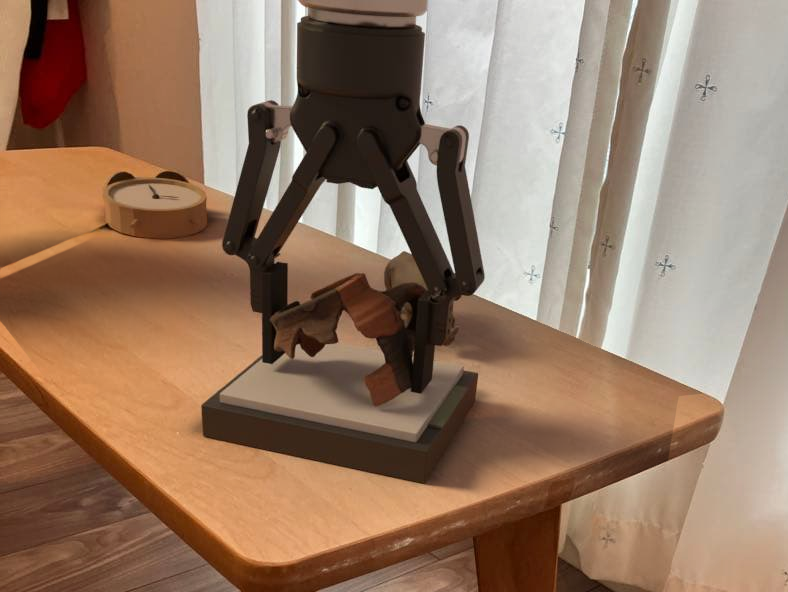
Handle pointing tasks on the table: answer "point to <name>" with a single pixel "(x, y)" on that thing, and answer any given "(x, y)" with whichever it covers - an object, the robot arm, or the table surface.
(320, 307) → the brown jagged curved piece
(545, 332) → the table surface
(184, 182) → the alarm clock
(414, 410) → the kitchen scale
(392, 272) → the rhino figurine
